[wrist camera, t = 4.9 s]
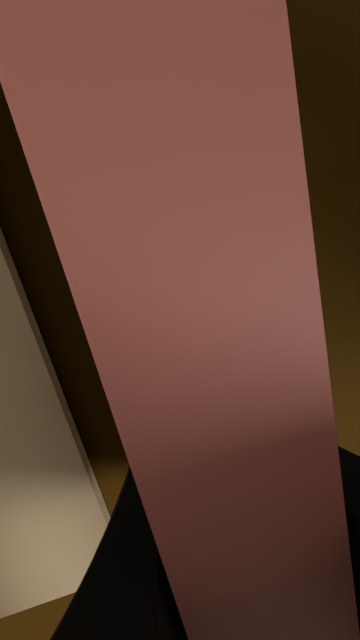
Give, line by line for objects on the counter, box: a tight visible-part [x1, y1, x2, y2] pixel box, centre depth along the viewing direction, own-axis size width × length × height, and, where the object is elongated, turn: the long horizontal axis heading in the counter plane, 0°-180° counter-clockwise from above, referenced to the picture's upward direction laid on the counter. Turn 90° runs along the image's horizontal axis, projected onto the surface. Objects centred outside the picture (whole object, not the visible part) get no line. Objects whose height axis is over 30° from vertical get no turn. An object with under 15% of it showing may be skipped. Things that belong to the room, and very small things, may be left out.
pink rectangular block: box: [0, 0, 360, 640], centre depth 6 cm, size 2×11×6 cm, turn 14°
